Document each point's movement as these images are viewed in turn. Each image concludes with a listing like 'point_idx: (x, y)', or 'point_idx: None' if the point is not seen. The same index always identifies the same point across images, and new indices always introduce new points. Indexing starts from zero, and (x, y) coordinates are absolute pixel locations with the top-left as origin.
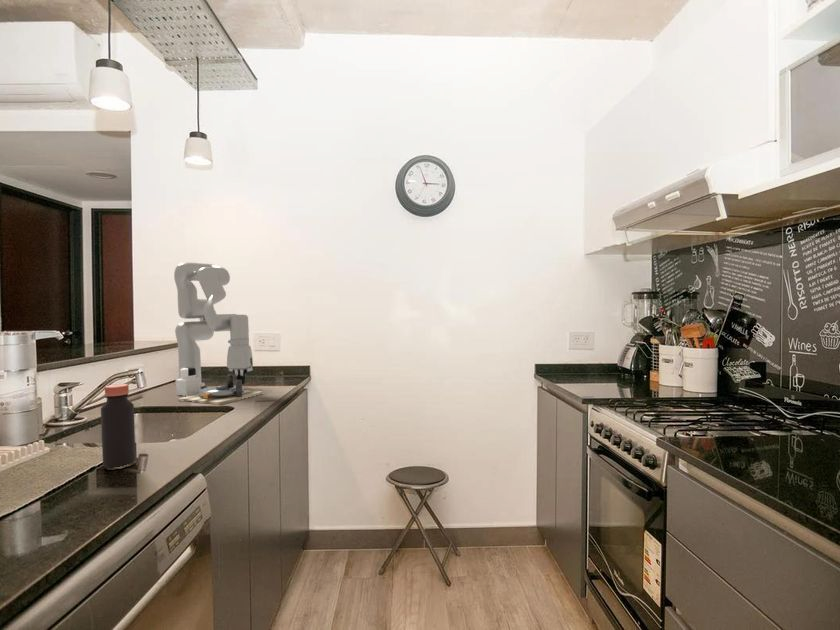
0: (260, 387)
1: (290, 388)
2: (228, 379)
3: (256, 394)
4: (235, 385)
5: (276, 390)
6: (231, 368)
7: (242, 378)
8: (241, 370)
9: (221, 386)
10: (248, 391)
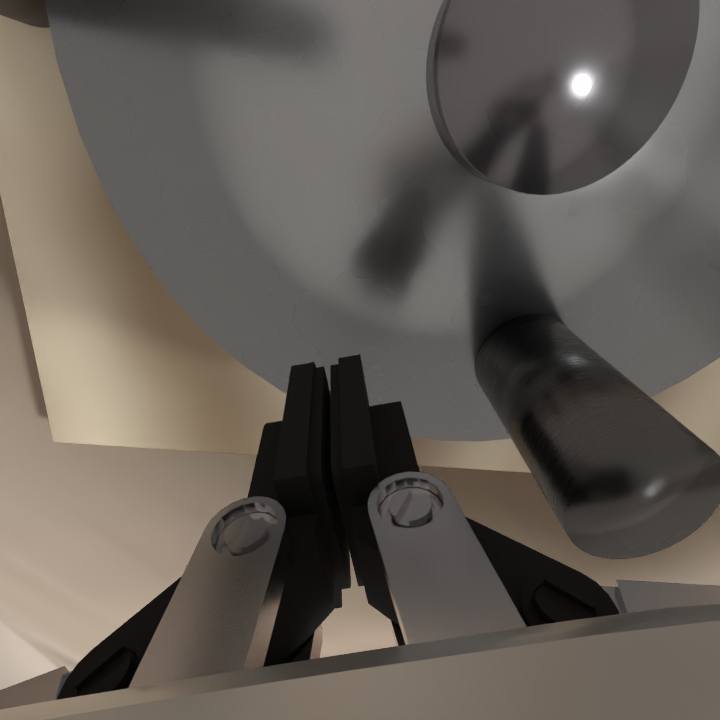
0: (382, 634)
1: (59, 661)
2: (598, 378)
3: (35, 310)
4: (480, 430)
5: (105, 579)
6: (666, 622)
7: (269, 471)
8: (217, 657)
9: (557, 15)
10: (261, 400)
